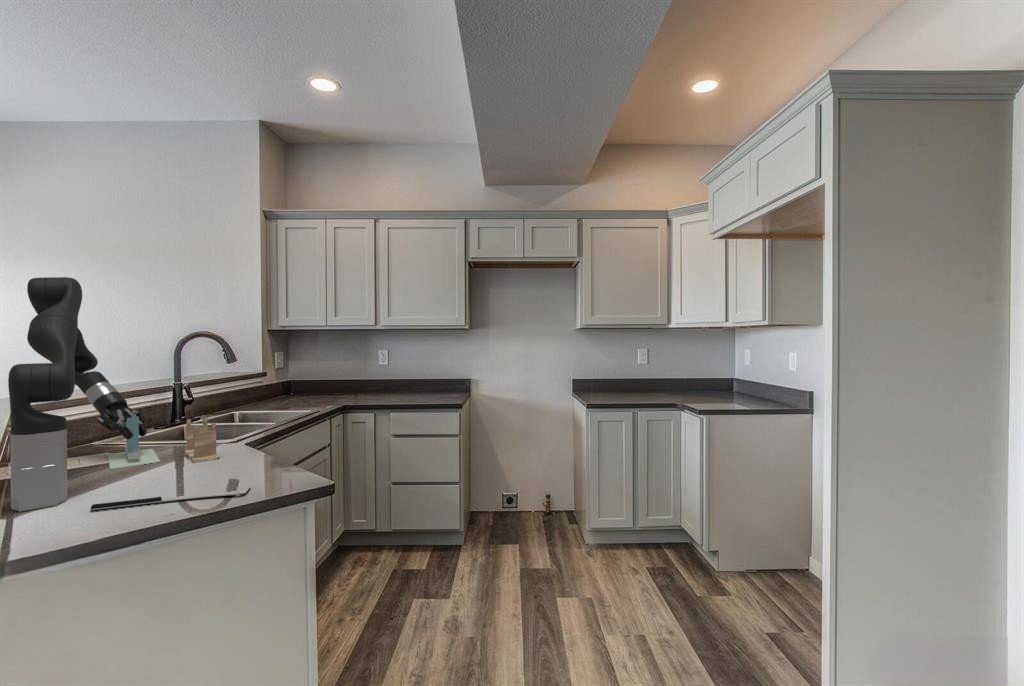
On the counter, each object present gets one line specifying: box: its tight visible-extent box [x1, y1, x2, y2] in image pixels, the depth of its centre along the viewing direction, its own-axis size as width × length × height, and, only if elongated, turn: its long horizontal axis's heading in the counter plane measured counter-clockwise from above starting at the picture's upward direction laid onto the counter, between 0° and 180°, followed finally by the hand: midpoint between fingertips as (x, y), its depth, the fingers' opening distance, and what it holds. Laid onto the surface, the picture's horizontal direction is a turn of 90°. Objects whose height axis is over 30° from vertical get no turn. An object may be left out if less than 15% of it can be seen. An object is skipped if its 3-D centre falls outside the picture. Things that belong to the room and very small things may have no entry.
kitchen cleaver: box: [90, 490, 249, 512], centre depth 110 cm, size 31×2×10 cm
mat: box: [107, 448, 161, 471], centre depth 149 cm, size 24×12×1 cm, turn 43°
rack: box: [183, 417, 220, 464], centre depth 153 cm, size 19×7×12 cm, turn 43°
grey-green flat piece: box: [124, 416, 141, 459], centre depth 149 cm, size 18×3×12 cm, turn 43°
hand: (137, 435), depth 149 cm, fingers closed on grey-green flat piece, 4 cm apart
